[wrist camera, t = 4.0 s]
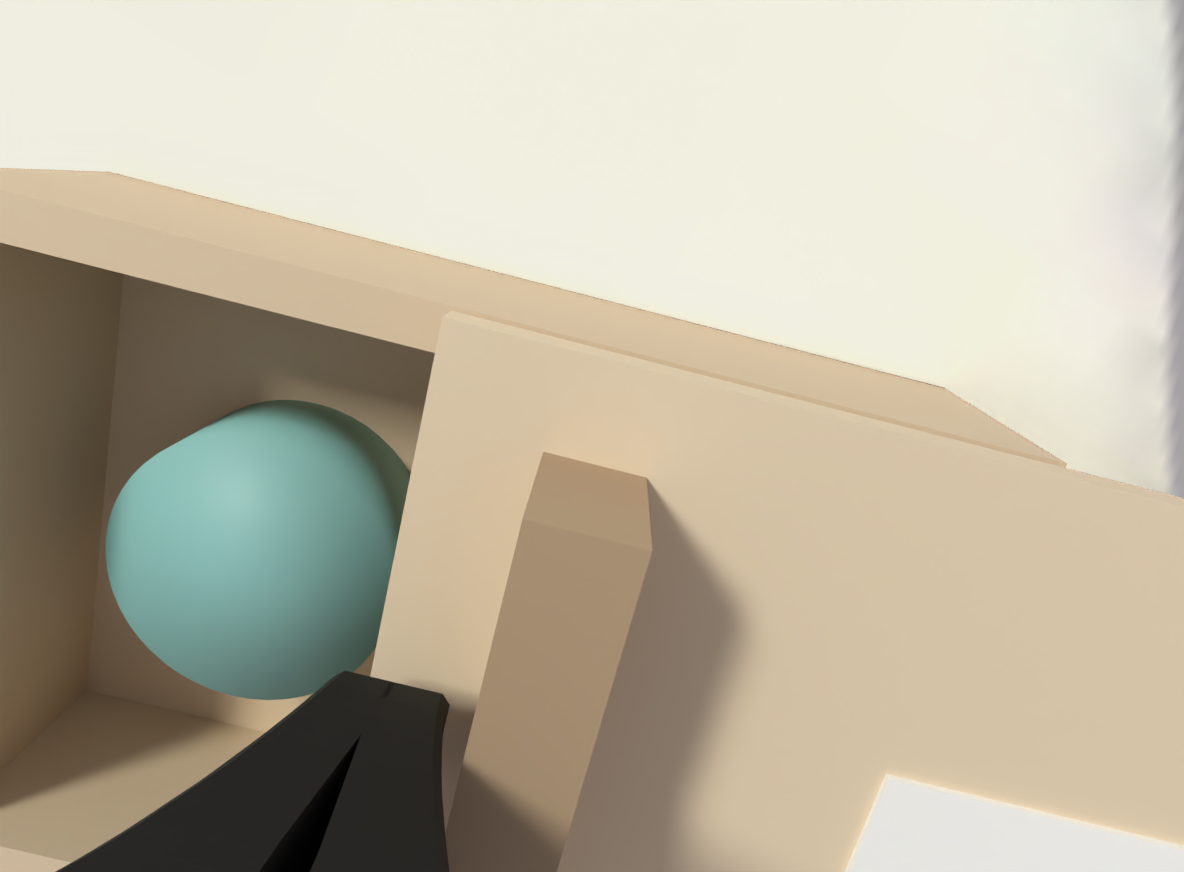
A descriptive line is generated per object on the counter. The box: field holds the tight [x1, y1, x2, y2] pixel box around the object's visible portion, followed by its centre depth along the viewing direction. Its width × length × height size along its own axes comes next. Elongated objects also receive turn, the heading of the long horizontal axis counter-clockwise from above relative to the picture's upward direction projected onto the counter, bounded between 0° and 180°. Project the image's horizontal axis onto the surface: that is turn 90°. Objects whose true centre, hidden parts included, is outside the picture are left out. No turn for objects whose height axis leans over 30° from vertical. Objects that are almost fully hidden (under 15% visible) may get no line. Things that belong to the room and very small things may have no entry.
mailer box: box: [0, 168, 1067, 872], centre depth 13 cm, size 14×10×4 cm
